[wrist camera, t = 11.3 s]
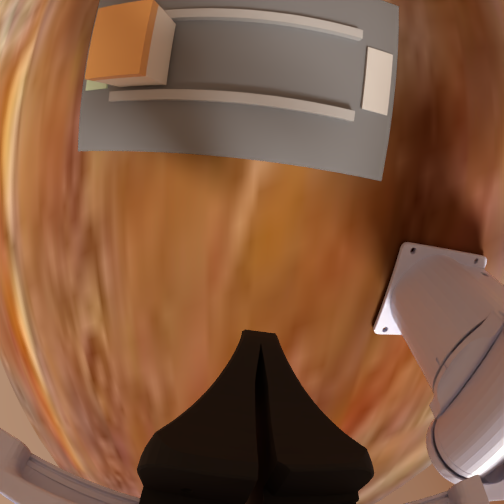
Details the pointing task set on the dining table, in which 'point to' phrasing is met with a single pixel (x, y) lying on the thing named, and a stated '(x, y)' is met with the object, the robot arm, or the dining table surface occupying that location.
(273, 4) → the panel
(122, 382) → the dining table surface
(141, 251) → the dining table surface
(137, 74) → the block
